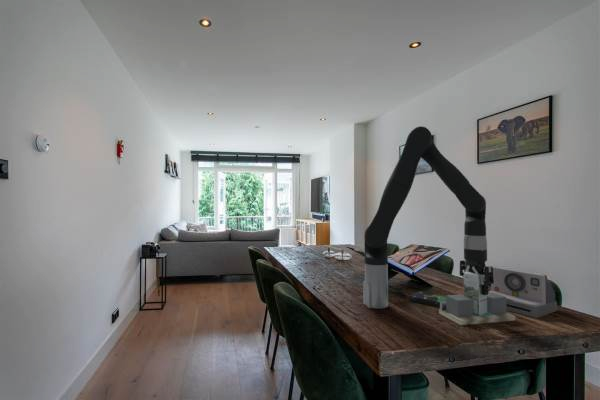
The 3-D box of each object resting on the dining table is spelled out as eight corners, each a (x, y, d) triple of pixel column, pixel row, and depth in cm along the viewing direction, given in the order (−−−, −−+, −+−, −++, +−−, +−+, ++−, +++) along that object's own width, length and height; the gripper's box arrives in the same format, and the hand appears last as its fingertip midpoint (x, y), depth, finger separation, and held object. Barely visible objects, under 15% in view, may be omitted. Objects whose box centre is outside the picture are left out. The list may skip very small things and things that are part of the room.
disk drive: (408, 302, 137) (444, 309, 127) (408, 295, 137) (443, 302, 127) (418, 297, 145) (453, 303, 134) (418, 291, 145) (453, 297, 134)
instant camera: (478, 302, 134) (478, 267, 135) (513, 297, 142) (512, 263, 142) (530, 319, 115) (529, 277, 115) (567, 312, 122) (566, 273, 122)
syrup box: (488, 312, 116) (487, 272, 117) (479, 315, 113) (478, 274, 114) (472, 308, 121) (472, 270, 122) (463, 311, 118) (463, 272, 118)
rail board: (461, 325, 109) (460, 303, 109) (439, 313, 121) (438, 293, 121) (515, 320, 113) (515, 299, 114) (489, 309, 125) (489, 290, 125)
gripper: (453, 245, 124) (453, 287, 124) (480, 250, 110) (481, 297, 110) (470, 244, 125) (470, 286, 125) (499, 249, 111) (500, 296, 111)
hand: (475, 291), depth 117 cm, fingers open, 8 cm apart
